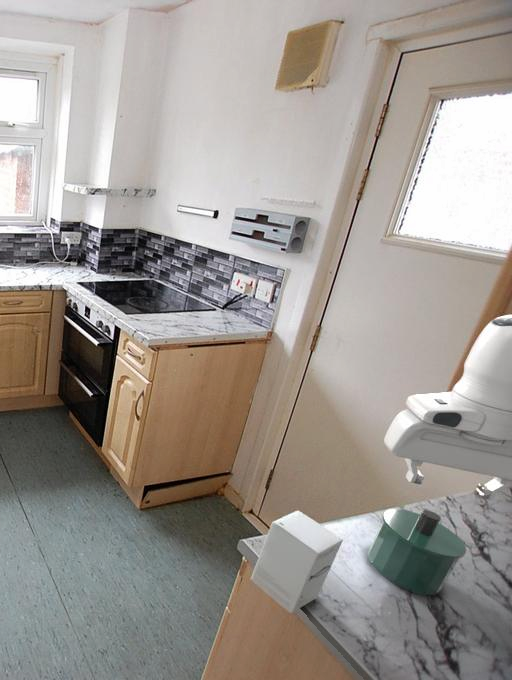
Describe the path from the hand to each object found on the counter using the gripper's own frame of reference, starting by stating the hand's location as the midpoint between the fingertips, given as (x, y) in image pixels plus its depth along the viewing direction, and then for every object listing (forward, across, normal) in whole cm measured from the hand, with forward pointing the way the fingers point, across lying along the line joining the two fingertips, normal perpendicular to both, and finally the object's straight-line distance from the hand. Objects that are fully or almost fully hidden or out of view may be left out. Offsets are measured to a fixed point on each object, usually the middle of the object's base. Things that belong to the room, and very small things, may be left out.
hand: (447, 489), depth 76 cm
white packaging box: (+18, +22, +14) cm, 32 cm away
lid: (+10, 0, 0) cm, 10 cm away
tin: (+18, 0, 0) cm, 18 cm away
